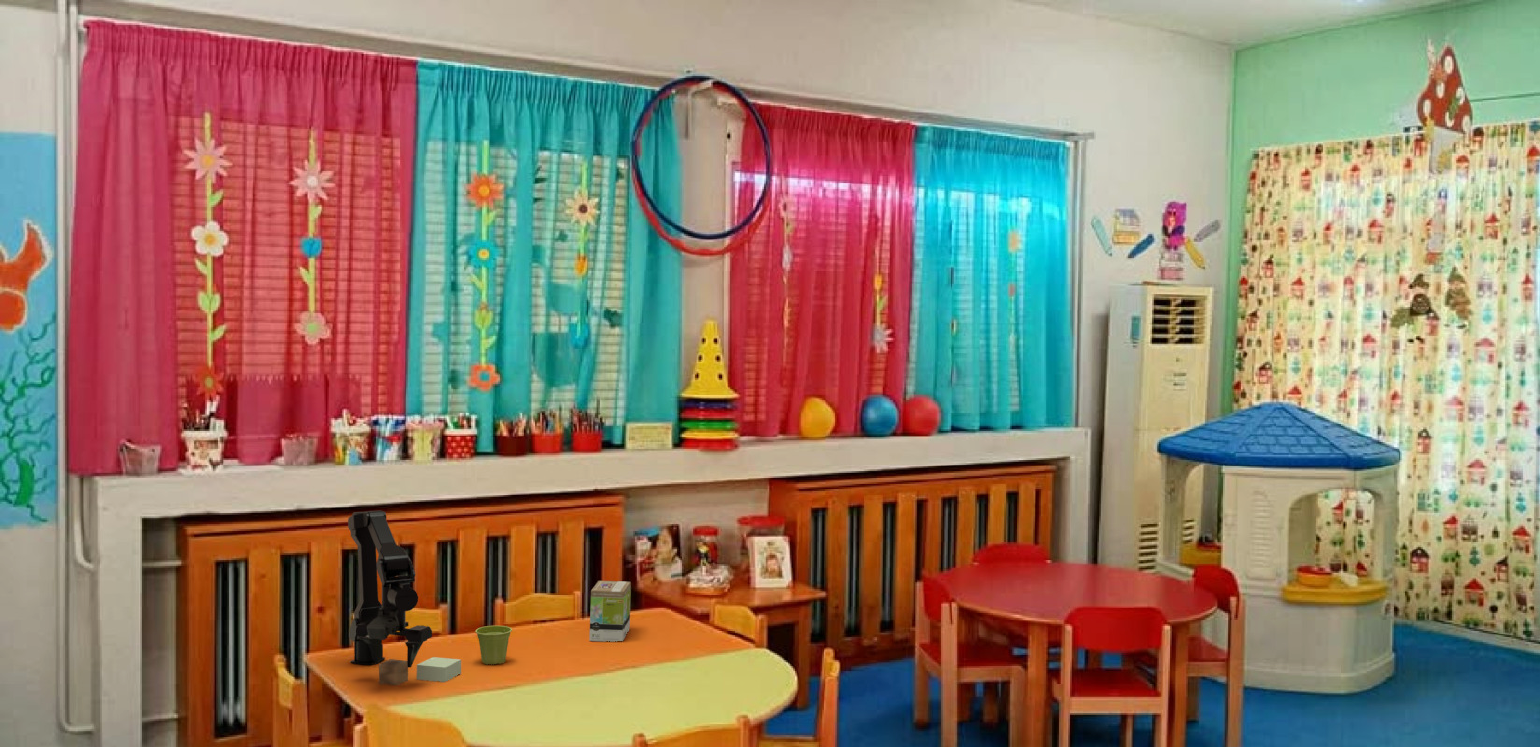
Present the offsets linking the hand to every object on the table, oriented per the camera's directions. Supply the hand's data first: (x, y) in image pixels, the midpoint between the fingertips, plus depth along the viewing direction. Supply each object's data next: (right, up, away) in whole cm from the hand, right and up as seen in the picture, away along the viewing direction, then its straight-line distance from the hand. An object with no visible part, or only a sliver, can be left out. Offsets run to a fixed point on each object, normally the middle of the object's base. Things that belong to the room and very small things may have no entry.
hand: (393, 665), depth 319 cm
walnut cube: (0, -4, 0) cm, 4 cm away
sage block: (+10, -4, +5) cm, 12 cm away
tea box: (+48, -3, +50) cm, 69 cm away
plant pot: (+21, -4, +20) cm, 29 cm away
